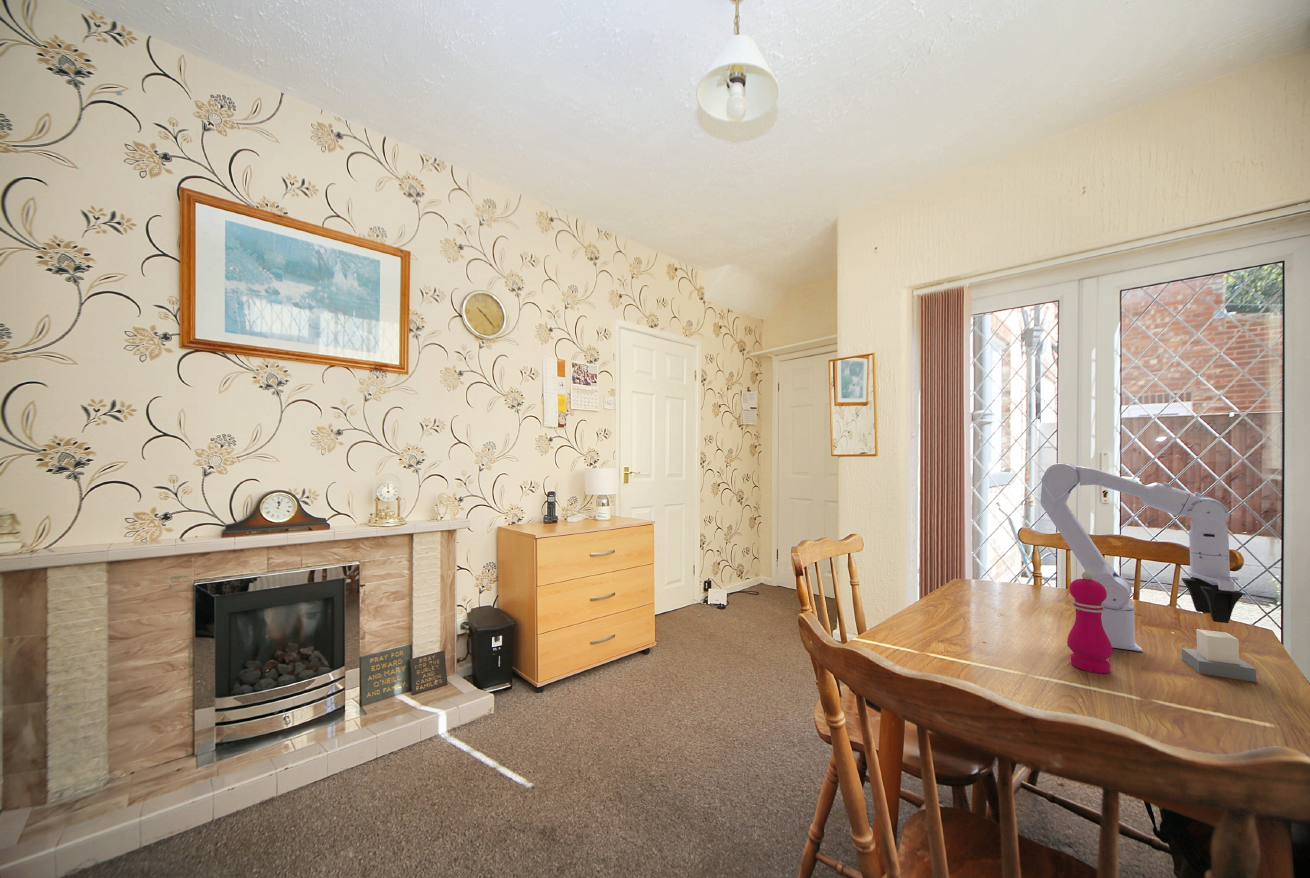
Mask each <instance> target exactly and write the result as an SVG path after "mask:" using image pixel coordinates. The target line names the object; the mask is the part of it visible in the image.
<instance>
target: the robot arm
mask: <svg viewBox="0 0 1310 878" xmlns="http://www.w3.org/2000/svg"><path fill="white" fill-rule="evenodd" d="M1040 480H1041V481H1040V482H1041V489H1040V491H1041V492H1040V505H1041V507H1042V508H1043V510H1044V511H1045V513H1046V514H1047V516H1048V517H1049V518H1050V520H1051V522H1052V523H1053V525H1054V526H1055V527H1056V529H1057V531H1058V532H1059V533H1060V535H1061V536H1062V538H1063V540H1064V541H1065V543H1066V544H1067V545H1068V547H1069V548H1070V550H1071V551H1072V553H1073V554H1074V556H1075V558H1076V559H1077V560H1078V563H1080V565H1081V566H1082V568H1083V569H1084V572H1090V573H1091V574H1092V575H1093V578H1092V579H1091V580H1095V581H1097V582H1099V583H1100V584H1102V585H1103V586H1104V587H1105V589H1106V593H1107V597H1106V599H1105V600H1104V601H1103V602H1102V603H1101V604H1103V605H1104V607H1103V609H1104V612H1102V614H1101V620H1102V625H1103V628H1104V631H1105V633H1106V635H1107V636H1108V638H1109V640H1110V642H1111V645H1112V649H1113V648H1115V649H1121V650H1129V651H1134V652H1135V651H1137V652H1143V651H1144V650H1143V648H1142V647H1140V646H1139V645H1138V644H1137V643H1136V633H1135V632H1136V631H1135V629H1136V627H1135V606H1134V605H1133V604H1131V603H1130V600H1131V599H1130V598H1131V595H1132V592H1133V590H1132V585H1131V583H1130V582H1129V581H1128V580H1127V579H1126V578H1124V577H1122V576H1121V575H1119V574H1118V573H1117V571H1115V569H1114V568H1113V567H1112V566H1111V564H1110V563H1109V562H1108V561H1107V560H1106V559H1105V557H1104V556H1103V554H1102V552H1101V551H1100V549H1098V547H1097V546H1096V544H1095V543H1094V542H1093V540H1092V538H1091V537H1090V536H1089V533H1087V531H1086V530H1085V528H1084V527H1083V525H1082V524H1081V522H1080V521H1079V519H1078V518H1077V516H1076V515H1075V513H1073V511H1072V509H1071V508H1070V506H1069V505H1068V504H1067V502H1068V500H1069V497H1070V495H1071V493H1072V491H1073V489H1075V488H1076V486H1078V484H1079V486H1080V487H1081V486H1092V485H1093V486H1099V487H1103V488H1107V489H1110V490H1114V491H1117V492H1120V493H1124V494H1126V495H1130V496H1133V497H1138V498H1139V499H1140V500H1141V502H1142V504H1143V505H1144V506H1146V507H1149V508H1153V509H1156V510H1159V511H1162V512H1165V513H1168V514H1171V515H1174V516H1176V517H1177V516H1178V517H1180V518H1183V517H1188V518H1190V530H1189V531H1188V540H1189V541H1188V544H1189V545H1188V546H1189V566H1190V567H1188V576H1189V577H1181V581H1182V582H1183V584H1184V585H1185V586H1186V588H1187V591H1188V592H1189V595H1190V597H1191V600H1192V604H1193V606H1194V610H1195V611H1196V612H1197V613H1205V614H1209V615H1210V617H1211V620H1212V621H1213V622H1215V623H1221V624H1222V623H1224V624H1229V623H1230V620H1231V617H1232V613H1233V610H1234V608H1235V606H1236V604H1237V603H1238V602H1239V600H1240V599H1241V598H1242V597H1243V594H1244V593H1243V592H1242V591H1239V590H1235V581H1239V576H1236V575H1233V574H1231V569H1230V568H1231V567H1230V564H1231V563H1230V542H1229V538H1230V537H1229V534H1228V532H1227V531H1228V528H1229V527H1228V524H1227V522H1228V520H1229V519H1230V516H1231V514H1230V513H1229V510H1228V508H1227V506H1225V505H1224V503H1222V502H1221V501H1219V500H1217V499H1216V498H1215V499H1214V498H1212V497H1210V496H1202V493H1200V492H1197V491H1195V492H1194V493H1193V492H1190V491H1186V490H1184V489H1180V488H1177V487H1173V486H1172V484H1171V483H1168V482H1166V481H1165V482H1163V483H1160V482H1153V483H1150V484H1143V483H1139V482H1137V481H1134V480H1130V479H1127V478H1126V477H1125V478H1124V477H1121V476H1118V475H1116V474H1113V473H1109V472H1108V471H1107V472H1106V471H1103V470H1100V469H1097V468H1093V467H1087V466H1081V465H1075V464H1072V463H1065V462H1064V463H1063V462H1062V463H1060V462H1059V463H1054V464H1052V465H1050V466H1049V467H1048V468H1047V469H1046V470H1045V471H1044V474H1043V475H1042V477H1041V479H1040Z"/></svg>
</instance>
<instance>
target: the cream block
mask: <svg viewBox="0 0 1310 878" xmlns="http://www.w3.org/2000/svg"><path fill="white" fill-rule="evenodd" d="M1195 631H1196V650H1197V653H1199V654H1200V655H1201V656H1203V657H1204V658H1206V659H1207V660H1210V661H1217V662H1225V663H1232V664H1239V665H1240V662H1239V659H1240V651H1239V650H1240V646H1239V645H1240V644H1239V642H1240V641H1239V639H1238V638H1237V637H1235V636H1233V635H1231V634H1229V633H1228V632H1225V631H1224V632H1223V631H1215V630H1207V629H1198V628H1196V629H1195Z"/></svg>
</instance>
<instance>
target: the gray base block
mask: <svg viewBox="0 0 1310 878" xmlns="http://www.w3.org/2000/svg"><path fill="white" fill-rule="evenodd" d="M1181 660H1182V661H1183V662H1185V664H1187V665H1188V666H1189V667H1191V668H1192V669H1193V670H1195V672H1196V673H1198V674H1202V675H1207V676H1215V677H1219V678H1220V677H1221V678H1228V679H1236V680H1241V681H1247V682H1254V683H1257V671H1256V670H1257V669H1256V668H1255V667H1253V666H1252V665H1250V664H1249V663H1247V662H1246V661H1244V660H1243V659H1241V658H1239V662H1240V665H1239V664H1232V663H1225V662H1217V661H1210V660H1207V659H1206V658H1204V657H1203V656H1201V655H1200V654H1199V653H1197V649H1193V648H1186V647H1185V648H1183V647H1181Z"/></svg>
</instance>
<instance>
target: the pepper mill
mask: <svg viewBox="0 0 1310 878" xmlns="http://www.w3.org/2000/svg"><path fill="white" fill-rule="evenodd" d="M1092 578H1093V575H1092V574H1091V573H1090V572H1085V571H1084V572H1082V573H1081V578H1077V579H1074V580H1073V581H1071V583H1070V584H1069V589H1068V590H1069V594H1070V595H1071V596H1072V598H1073V600H1072V603H1073V605H1072V607H1073V608H1074V610H1075V620H1074V623H1073V625H1072V627H1071V629H1070V631H1069V632H1068V635H1067V642H1066V643H1067V646H1068V649H1069V650H1070V651H1071V652H1072V653H1071V654H1070V664H1071V665H1072V666H1073V667H1075V668H1077V669H1079V670H1083V671H1086V672H1090V673H1095V674H1108V673H1110V672H1111V663H1110V661H1108V660H1107V659H1109V658H1110V657H1111V656H1113V653H1114V651H1113V647H1112V645H1111V642H1110V640H1109V638H1108V636H1107V635H1106V633H1105V631H1104V628H1103V625H1102V620H1101V614H1102V612H1104V609H1103V607H1104V605H1103V604H1101V603H1102V602H1103V601H1104V600H1105V599H1106V597H1107V593H1106V589H1105V587H1104V586H1103V585H1102V584H1100V583H1099V582H1097V581H1095V580H1091V579H1092Z"/></svg>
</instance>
